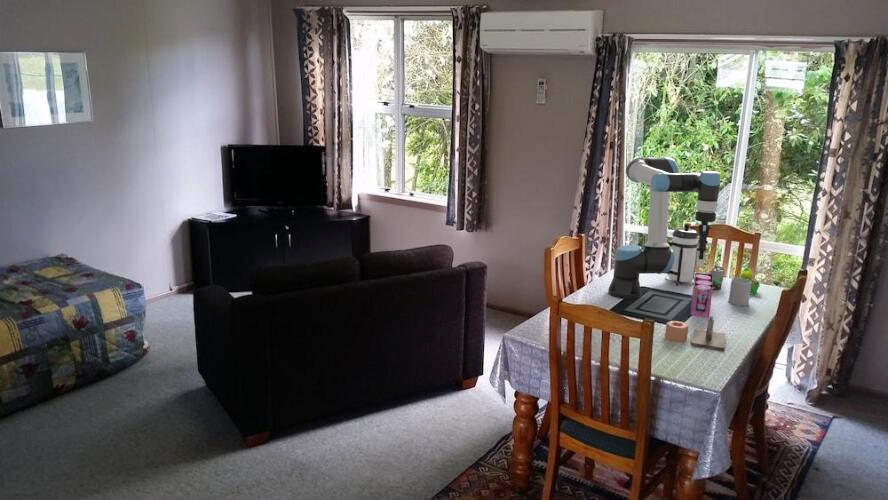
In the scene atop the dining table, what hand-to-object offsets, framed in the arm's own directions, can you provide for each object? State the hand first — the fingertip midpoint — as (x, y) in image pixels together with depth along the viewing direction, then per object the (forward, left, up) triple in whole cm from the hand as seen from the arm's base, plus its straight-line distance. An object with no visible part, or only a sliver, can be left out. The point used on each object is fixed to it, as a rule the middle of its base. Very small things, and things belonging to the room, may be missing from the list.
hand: (700, 262), depth 271 cm
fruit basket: (+21, +65, -29) cm, 74 cm away
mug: (+18, +46, -29) cm, 57 cm away
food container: (+8, +63, -29) cm, 69 cm away
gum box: (+2, +28, -29) cm, 40 cm away
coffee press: (-10, +65, -29) cm, 71 cm away
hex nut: (-5, -14, -28) cm, 32 cm away
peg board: (+7, -11, -28) cm, 31 cm away
